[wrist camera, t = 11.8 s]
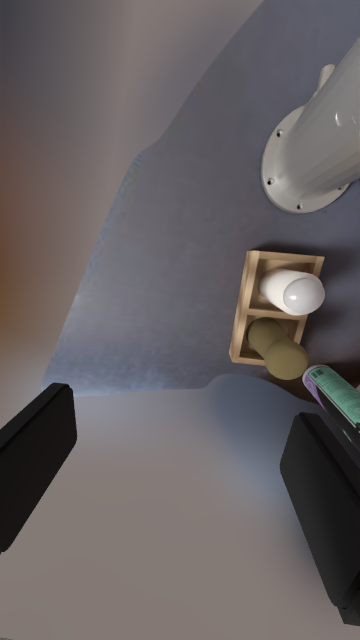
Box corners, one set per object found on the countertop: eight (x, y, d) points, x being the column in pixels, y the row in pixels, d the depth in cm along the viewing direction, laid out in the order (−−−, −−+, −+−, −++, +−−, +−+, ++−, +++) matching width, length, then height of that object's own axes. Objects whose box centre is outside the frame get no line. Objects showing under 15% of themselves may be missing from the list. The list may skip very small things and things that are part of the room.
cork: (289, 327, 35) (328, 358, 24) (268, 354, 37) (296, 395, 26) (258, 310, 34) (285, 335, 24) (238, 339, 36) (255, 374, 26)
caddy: (247, 250, 33) (252, 250, 29) (311, 256, 32) (324, 256, 29) (229, 352, 38) (232, 362, 35) (283, 358, 38) (292, 368, 34)
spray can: (297, 384, 39) (391, 506, 20) (311, 360, 38) (430, 469, 19) (323, 393, 39) (442, 523, 20) (339, 369, 38) (485, 487, 19)
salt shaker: (261, 266, 32) (288, 271, 23) (295, 269, 32) (336, 276, 23) (254, 299, 34) (277, 316, 24) (287, 302, 34) (322, 321, 24)
